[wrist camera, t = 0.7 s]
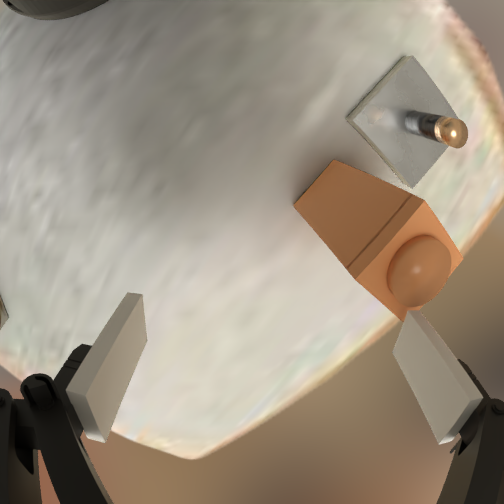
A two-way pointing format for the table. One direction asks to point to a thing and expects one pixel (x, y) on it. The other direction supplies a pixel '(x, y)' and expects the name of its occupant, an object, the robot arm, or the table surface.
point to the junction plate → (391, 118)
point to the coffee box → (2, 314)
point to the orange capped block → (381, 236)
